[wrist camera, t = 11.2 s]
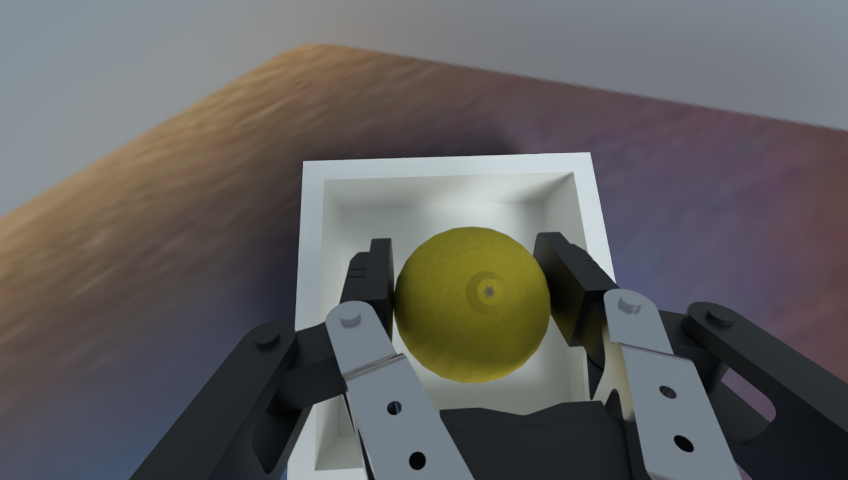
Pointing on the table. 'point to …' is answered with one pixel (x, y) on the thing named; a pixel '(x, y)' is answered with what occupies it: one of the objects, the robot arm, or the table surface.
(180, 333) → the table surface
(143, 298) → the table surface
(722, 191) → the table surface
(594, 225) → the white bin
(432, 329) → the lemon
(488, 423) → the robot arm
